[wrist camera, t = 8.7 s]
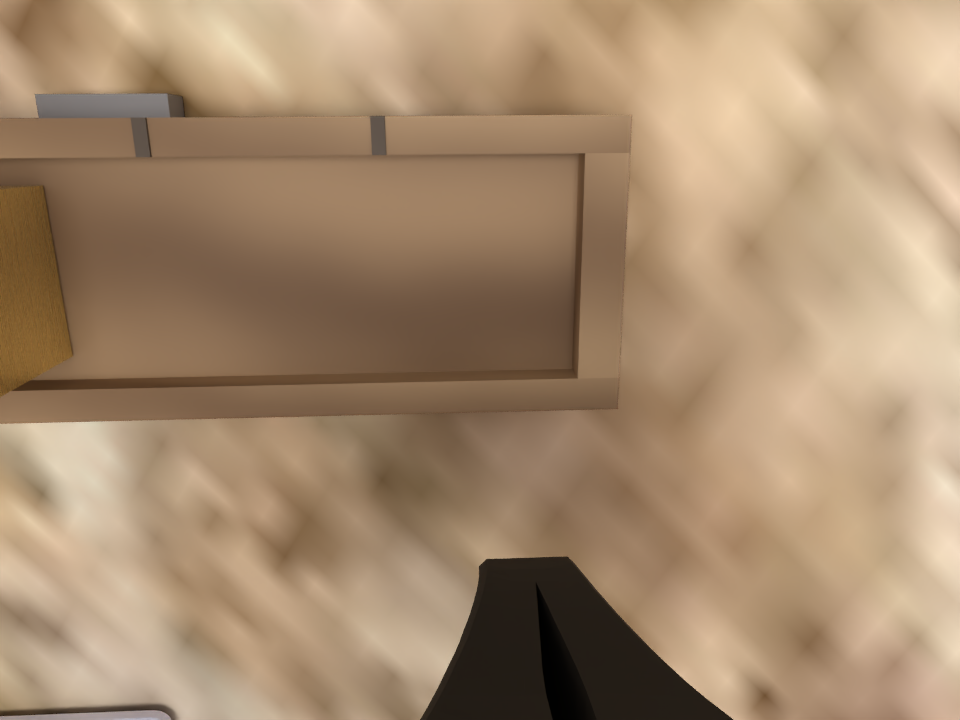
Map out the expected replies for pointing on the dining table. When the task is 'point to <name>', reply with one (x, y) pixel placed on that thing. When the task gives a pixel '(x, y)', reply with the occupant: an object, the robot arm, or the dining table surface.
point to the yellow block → (28, 290)
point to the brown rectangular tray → (324, 261)
